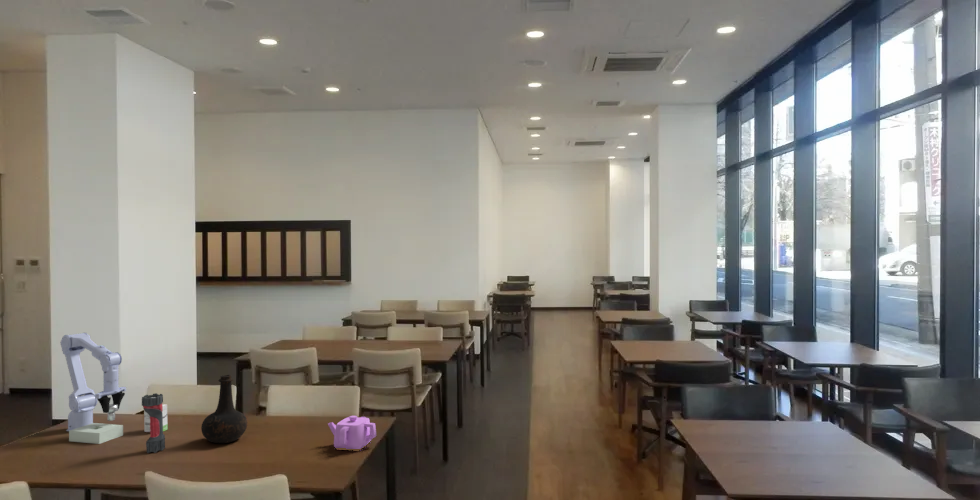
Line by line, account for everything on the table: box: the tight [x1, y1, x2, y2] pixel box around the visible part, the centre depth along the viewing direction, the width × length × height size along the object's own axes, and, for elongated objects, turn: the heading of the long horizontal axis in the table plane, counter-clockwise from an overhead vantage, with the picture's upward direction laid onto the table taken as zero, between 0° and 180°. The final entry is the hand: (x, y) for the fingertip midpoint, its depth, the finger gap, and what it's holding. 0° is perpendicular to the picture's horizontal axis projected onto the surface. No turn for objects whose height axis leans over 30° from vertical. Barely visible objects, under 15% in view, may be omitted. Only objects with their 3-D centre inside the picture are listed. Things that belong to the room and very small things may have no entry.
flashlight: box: [141, 393, 166, 454], centre depth 243 cm, size 8×8×23 cm
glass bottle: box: [201, 374, 248, 444], centre depth 257 cm, size 18×18×28 cm
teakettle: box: [327, 415, 377, 449], centre depth 249 cm, size 17×17×12 cm
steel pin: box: [107, 403, 119, 422], centre depth 266 cm, size 5×5×6 cm
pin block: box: [68, 422, 124, 445], centre depth 260 cm, size 16×12×4 cm
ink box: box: [143, 403, 169, 433], centre depth 271 cm, size 9×5×12 cm, turn 79°
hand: (111, 411), depth 266 cm, fingers closed on steel pin, 5 cm apart
